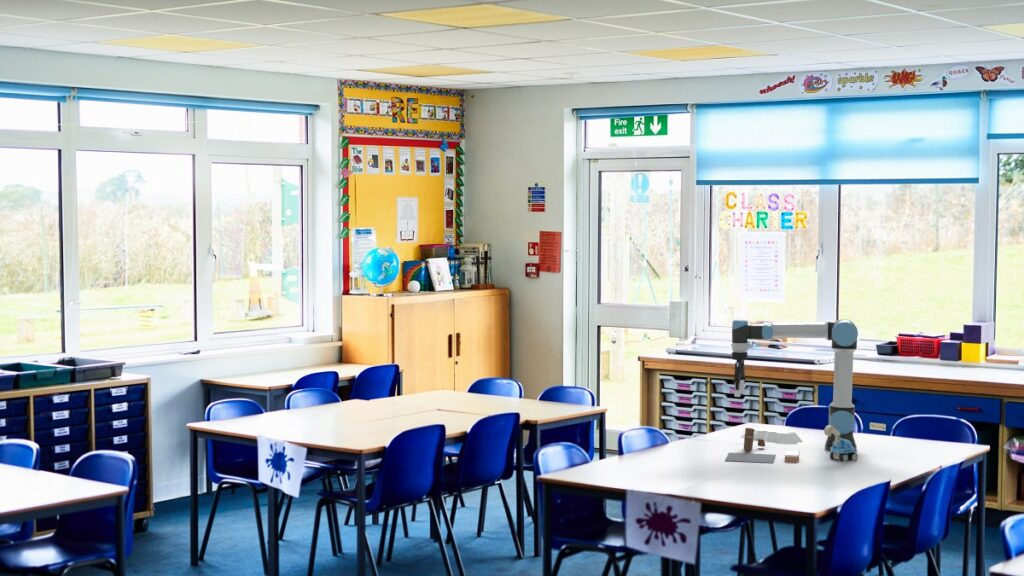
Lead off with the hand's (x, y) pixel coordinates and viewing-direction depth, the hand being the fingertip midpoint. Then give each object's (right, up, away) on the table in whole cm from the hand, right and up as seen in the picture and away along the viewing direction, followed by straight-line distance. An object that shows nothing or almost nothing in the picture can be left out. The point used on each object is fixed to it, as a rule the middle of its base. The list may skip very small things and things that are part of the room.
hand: (739, 394), depth 597 cm
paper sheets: (+25, -27, +34) cm, 50 cm away
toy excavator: (+42, -29, -25) cm, 57 cm away
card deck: (+20, -29, -27) cm, 44 cm away
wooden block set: (+6, -28, +2) cm, 28 cm away
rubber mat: (+1, -28, -22) cm, 36 cm away
